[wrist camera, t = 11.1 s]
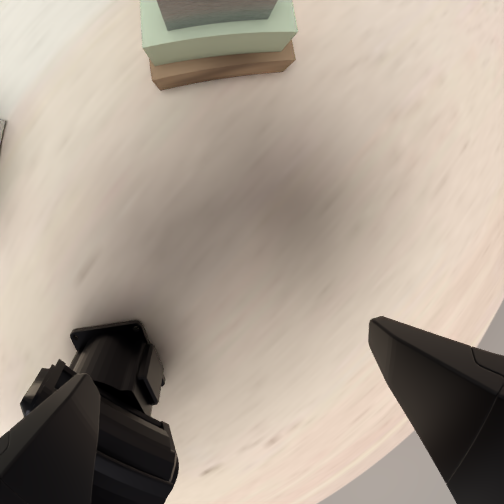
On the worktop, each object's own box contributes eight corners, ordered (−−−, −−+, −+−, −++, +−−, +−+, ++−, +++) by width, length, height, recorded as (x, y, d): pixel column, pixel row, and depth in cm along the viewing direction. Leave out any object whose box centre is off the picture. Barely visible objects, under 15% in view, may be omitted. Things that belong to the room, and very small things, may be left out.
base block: (161, 91, 18) (152, 80, 14) (149, -6, 15) (140, -28, 12) (281, 72, 18) (295, 59, 15) (262, -21, 16) (271, -44, 12)
